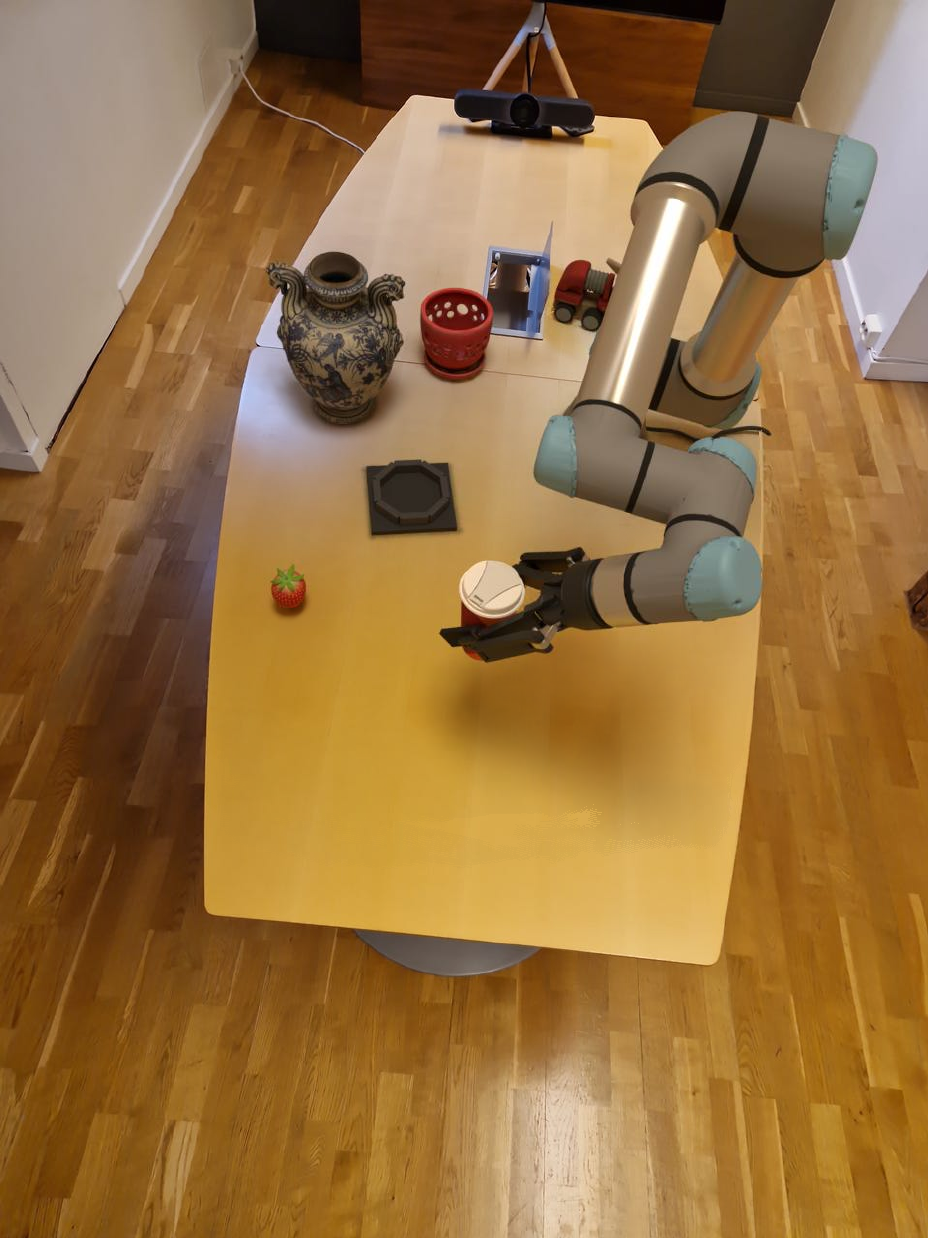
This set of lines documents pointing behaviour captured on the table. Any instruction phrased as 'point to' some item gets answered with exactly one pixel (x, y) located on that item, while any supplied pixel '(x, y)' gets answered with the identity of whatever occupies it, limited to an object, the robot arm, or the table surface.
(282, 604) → the fruit
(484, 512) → the table surface
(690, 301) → the table surface
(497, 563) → the paper cup
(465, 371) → the plant pot
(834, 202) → the robot arm
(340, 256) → the decorative vase
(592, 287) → the toy fire truck
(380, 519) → the pad
